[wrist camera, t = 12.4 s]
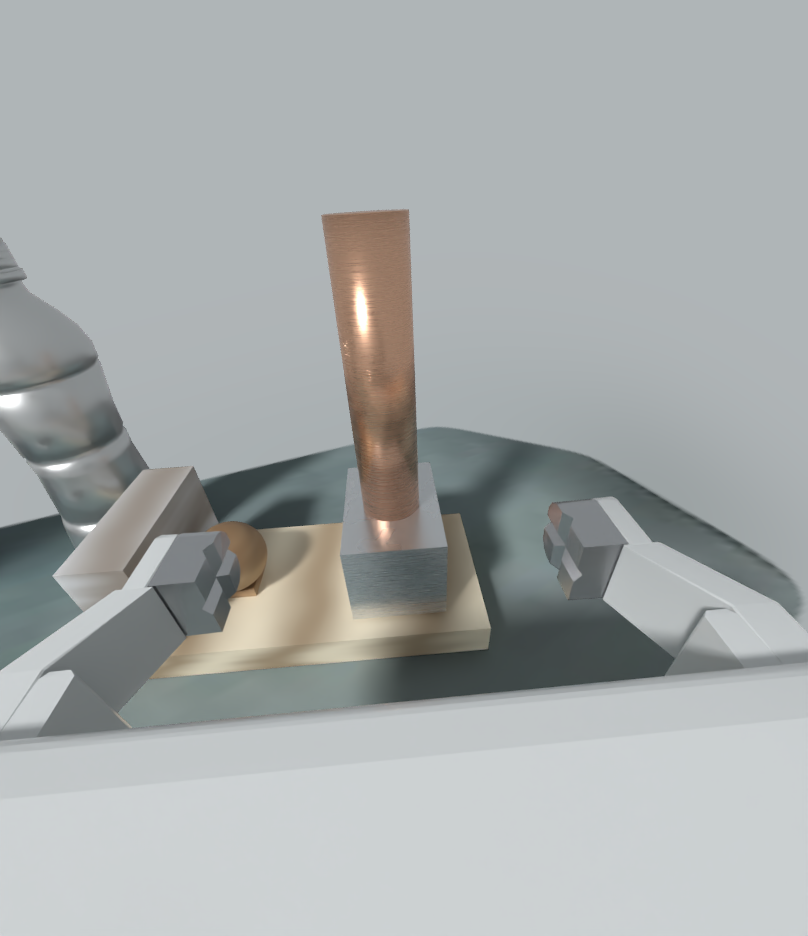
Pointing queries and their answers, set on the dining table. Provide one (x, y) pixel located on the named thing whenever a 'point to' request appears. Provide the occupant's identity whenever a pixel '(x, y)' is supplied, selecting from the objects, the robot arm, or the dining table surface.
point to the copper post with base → (383, 423)
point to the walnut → (246, 555)
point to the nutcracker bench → (272, 588)
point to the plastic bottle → (60, 407)
